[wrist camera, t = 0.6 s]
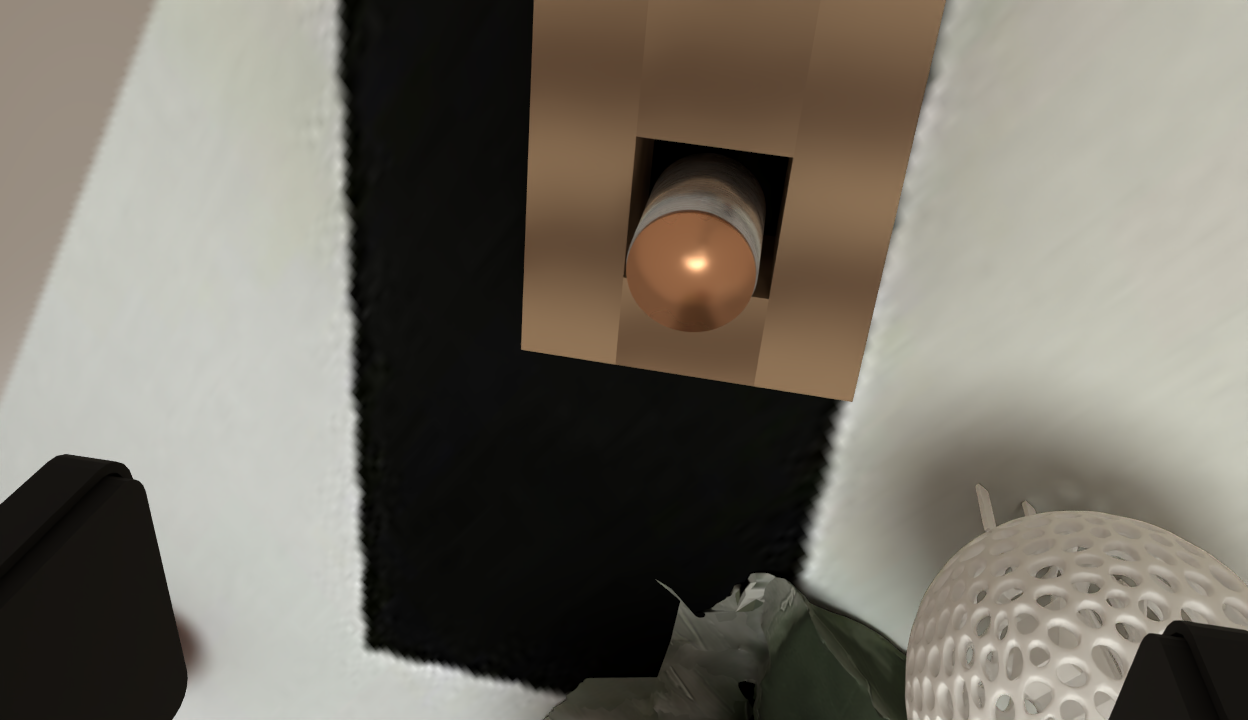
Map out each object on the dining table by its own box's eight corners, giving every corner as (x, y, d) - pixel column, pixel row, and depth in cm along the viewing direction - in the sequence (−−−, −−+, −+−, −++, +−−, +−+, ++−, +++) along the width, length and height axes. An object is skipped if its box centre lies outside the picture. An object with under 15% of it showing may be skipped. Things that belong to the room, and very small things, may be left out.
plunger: (655, 145, 31) (630, 203, 27) (774, 161, 31) (767, 222, 27) (644, 253, 33) (619, 323, 29) (756, 270, 33) (747, 342, 29)
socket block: (589, -361, 29) (548, -383, 24) (994, -326, 28) (1025, -343, 23) (554, 285, 39) (521, 349, 35) (849, 329, 38) (852, 401, 33)
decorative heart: (816, 486, 41) (812, 881, 27) (1035, 317, 36) (1179, 691, 22) (1111, 731, 45) (1250, 1194, 30) (1347, 609, 40) (1649, 1095, 25)
